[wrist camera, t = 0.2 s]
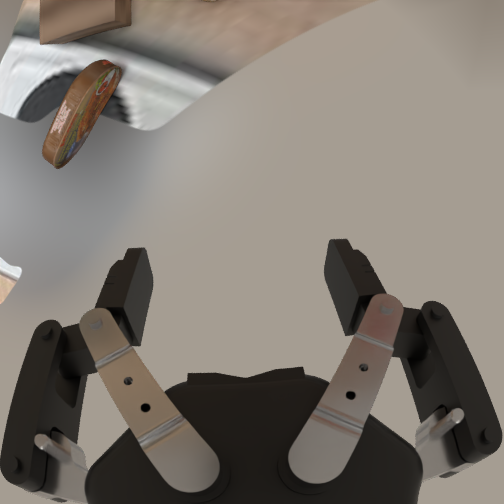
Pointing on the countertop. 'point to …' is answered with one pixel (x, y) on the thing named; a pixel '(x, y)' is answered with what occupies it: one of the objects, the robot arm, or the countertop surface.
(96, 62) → the tin
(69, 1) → the walnut box
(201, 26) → the countertop surface
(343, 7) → the countertop surface
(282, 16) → the countertop surface
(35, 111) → the countertop surface
